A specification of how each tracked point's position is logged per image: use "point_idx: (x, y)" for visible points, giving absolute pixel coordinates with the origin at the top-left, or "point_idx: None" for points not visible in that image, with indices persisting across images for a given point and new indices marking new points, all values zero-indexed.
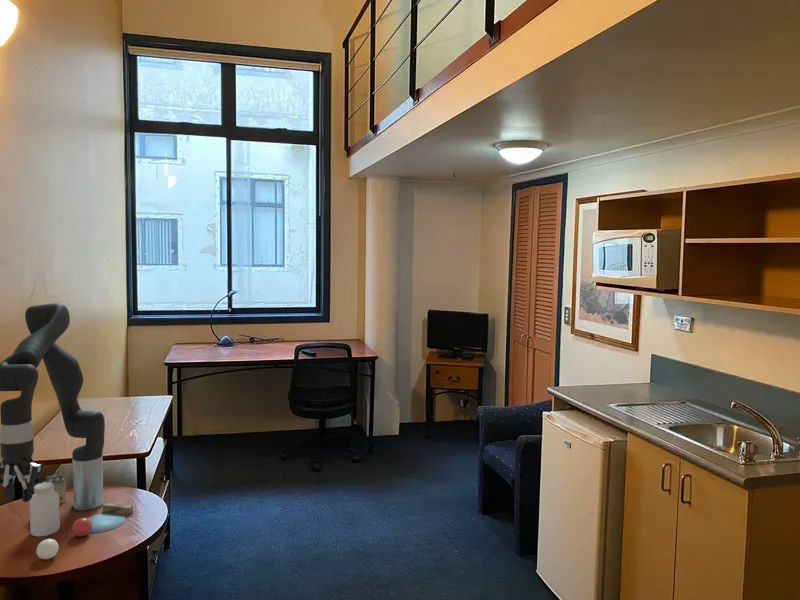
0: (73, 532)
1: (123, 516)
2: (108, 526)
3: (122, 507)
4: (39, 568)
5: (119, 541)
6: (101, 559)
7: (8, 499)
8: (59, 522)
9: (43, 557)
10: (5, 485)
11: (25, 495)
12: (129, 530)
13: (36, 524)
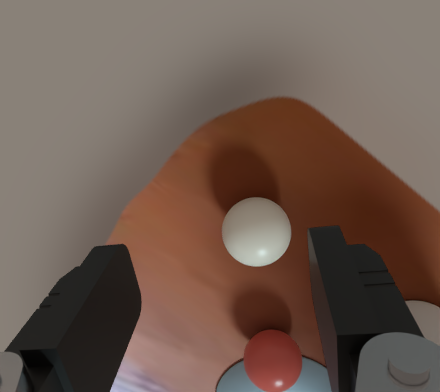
0: (280, 334)
1: None
2: (240, 389)
3: None
4: (225, 161)
5: (143, 340)
6: None
7: (309, 233)
8: None
9: (244, 199)
10: (385, 357)
11: (66, 293)
12: (170, 386)
13: (421, 330)
